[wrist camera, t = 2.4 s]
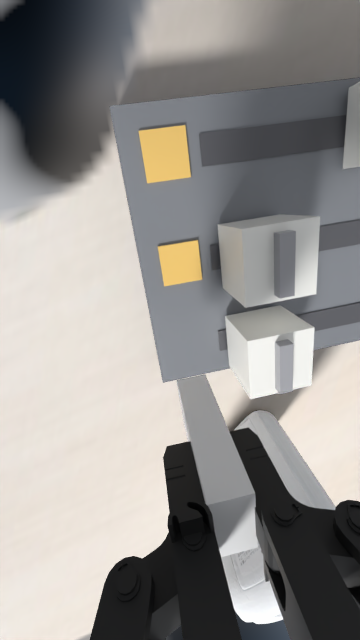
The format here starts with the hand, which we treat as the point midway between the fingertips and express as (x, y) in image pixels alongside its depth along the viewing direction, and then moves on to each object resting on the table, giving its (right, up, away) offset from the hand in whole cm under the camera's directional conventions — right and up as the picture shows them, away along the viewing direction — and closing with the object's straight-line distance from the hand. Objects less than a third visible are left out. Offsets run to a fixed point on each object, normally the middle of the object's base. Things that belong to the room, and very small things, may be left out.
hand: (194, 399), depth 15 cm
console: (+7, +10, +7) cm, 14 cm away
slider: (+5, +3, +5) cm, 8 cm away
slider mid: (+4, +8, +3) cm, 10 cm away
